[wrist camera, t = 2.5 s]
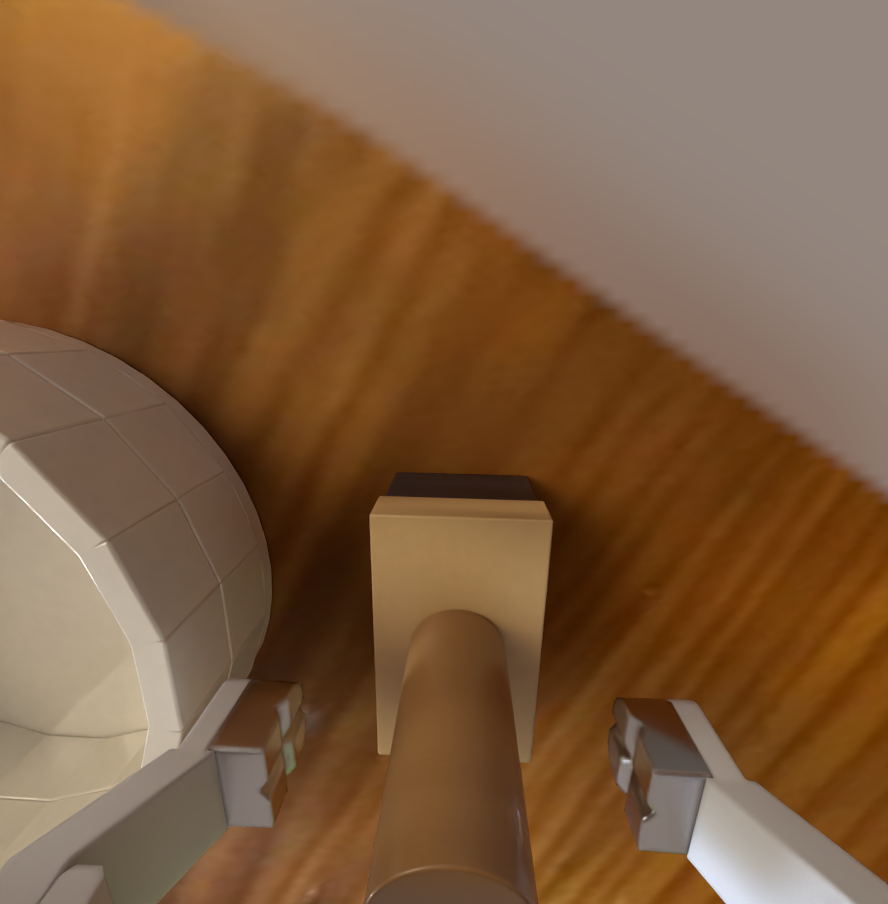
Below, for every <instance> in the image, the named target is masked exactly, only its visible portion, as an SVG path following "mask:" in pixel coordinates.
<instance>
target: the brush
mask: <svg viewBox="0 0 888 904" xmlns="http://www.w3.org/2000/svg"><path fill="white" fill-rule="evenodd" d="M369 518H370V546H371V573H372V601H373V629H374V656H375V684H376V711H377V739H378V754H382V755H390V757H389V763H388V769H387V774H386V780H385V786H384V792H383V797H382V803H381V809H380V815H379V820H378V826H377V832H376V837H375V843H374V849H373V855H372V860H371V866H370V872H369V878H368V883H367V889H366V895H365V901H364V904H538V898H537V890H536V883H535V875H534V867H533V859H532V852H531V844H530V836H529V828H528V821H527V813H526V805H525V797H524V790H523V782H522V774H521V766H520V762H527V763H529V762H531V755H532V745H533V734H534V723H535V712H536V702H537V691H538V680H539V670H540V659H541V648H542V637H543V627H544V616H545V605H546V595H547V584H548V573H549V563H550V552H551V541H552V530H553V520H552V518H551V516H550V513H549V511H548V509H547V507H546V505H545V503H544V502H543V501H537V498H536V496H535V494H534V491H533V489H532V487H531V484H530V482H529V480H528V477H527V476H508V475H473V474H438V473H403V472H398V473H396V475H395V477H394V479H393V481H392V483H391V485H390V487H389V490H388V492H387V494H386V496H379V498H378V500H377V502H376V504H375V506H374V508H373V510H372V512H371V513H370V516H369Z"/></svg>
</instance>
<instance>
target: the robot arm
mask: <svg viewBox="0 0 888 904" xmlns="http://www.w3.org/2000/svg"><path fill="white" fill-rule="evenodd" d="M303 698H304V694H303V687H302V684H301V683H299V682H288V681H275V680H262V679H242V678H229V679H228V680H227V681H225V682H224V683H223V684H222V686H221V687H220V688H219V690H218V691H217V693H216V694H215V696H214V697H213V699H212V700H211V702H210V703H209V704H208V706H207V707H206V709H205V710H204V712H203V713H202V715H201V716H200V718H199V719H198V720H197V722H196V723H195V725H194V726H193V728H192V729H191V731H190V732H189V734H188V735H187V736H186V738H185V739H184V741H183V742H182V744H181V745H180V747H179V748H178V749H169V750H168V751H166V752H165V753H163V754H162V755H160V756H159V757H157V758H156V759H154V760H153V761H152V762H150V763H149V764H147V765H146V766H144V767H143V768H141V769H140V770H138V771H137V772H135V773H134V774H132V775H131V776H129V777H128V778H127V779H125V780H124V781H122V782H121V783H119V784H118V785H116V786H115V787H113V788H112V789H110V790H109V791H107V792H106V793H104V794H103V795H102V796H100V797H99V798H97V799H96V800H94V801H93V802H91V803H90V804H88V805H87V806H85V807H84V808H82V809H81V810H79V811H78V812H77V813H75V814H74V815H72V816H71V817H69V818H68V819H66V820H65V821H63V822H62V823H60V824H59V825H57V826H56V827H54V828H53V829H52V830H50V831H49V832H47V833H46V834H44V835H43V836H41V837H40V838H38V839H37V840H35V841H34V842H32V843H31V844H30V845H28V846H27V847H25V848H24V849H22V850H21V851H19V852H18V853H16V854H15V855H13V856H12V857H11V858H10V859H9V860H8V862H7V863H6V864H5V865H4V866H3V867H2V869H1V870H0V904H157V903H158V902H159V901H160V900H161V899H162V898H163V897H164V896H165V895H166V894H167V892H168V891H169V890H170V889H171V888H172V887H173V886H174V885H175V884H176V883H177V882H178V881H179V880H180V879H181V878H182V877H183V876H184V875H185V873H186V872H187V871H188V870H189V869H190V868H191V867H192V866H193V865H194V864H195V863H196V862H197V861H198V860H199V859H200V858H201V857H202V856H203V855H204V853H205V852H206V851H207V850H208V849H209V848H210V847H211V846H212V845H213V844H214V843H215V842H216V841H217V840H218V839H219V838H220V837H221V836H222V835H223V833H224V832H225V831H226V830H227V826H245V827H273V826H274V823H275V821H276V818H277V816H278V813H279V811H280V808H281V805H282V803H283V800H284V798H285V795H286V793H287V790H288V789H287V780H286V776H287V775H288V774H289V773H290V772H291V771H292V770H293V769H294V768H296V766H297V764H298V761H299V758H300V756H301V753H302V749H303V744H304V740H305V734H306V715H305V713H304V712H303V711H302V709H301V708H300V705H301V702H302V700H303ZM612 713H613V716H614V718H615V721H616V724H615V725H614V726H613V727H612V728H611V729H609V738H608V751H609V760H610V765H611V769H612V773H613V776H614V779H615V782H616V785H617V786H618V787H619V788H620V789H621V790H622V791H623V792H624V793H625V794H626V795H627V798H626V804H625V812H626V815H627V818H628V821H629V824H630V827H631V830H632V833H633V836H634V839H635V842H636V844H637V847H638V850H644V851H655V852H665V853H676V854H686V855H688V856H687V858H688V859H689V860H690V862H691V863H692V864H693V865H694V866H695V868H696V869H697V870H698V871H699V872H700V873H701V875H702V876H703V877H704V878H705V879H706V881H707V882H708V883H709V884H710V885H711V887H712V888H713V889H714V890H715V891H716V893H717V894H718V895H719V896H720V897H721V898H722V900H723V901H724V902H725V903H726V904H888V884H887V883H886V882H884V881H883V880H882V879H880V878H879V877H878V876H877V875H875V874H874V873H873V872H871V871H870V870H869V869H868V868H866V867H865V866H864V865H862V864H861V863H860V862H859V861H857V860H856V859H855V858H853V857H852V856H851V855H850V854H848V853H847V852H846V851H844V850H843V849H842V848H841V847H839V846H838V845H837V844H835V843H834V842H833V841H831V840H830V839H829V838H828V837H826V836H825V835H824V834H822V833H821V832H820V831H819V830H817V829H816V828H815V827H813V826H812V825H811V824H810V823H808V822H807V821H806V820H804V819H803V818H802V817H801V816H799V815H798V814H797V813H795V812H794V811H793V810H792V809H790V808H789V807H788V806H786V805H785V804H784V803H783V802H781V801H780V800H779V799H777V798H776V797H775V796H773V795H772V794H771V793H770V792H768V791H767V790H766V789H764V788H763V787H762V786H761V785H759V784H758V783H757V782H755V781H750V780H746V779H745V778H744V776H743V774H742V773H741V771H740V770H739V768H738V767H737V765H736V763H735V762H734V760H733V759H732V757H731V756H730V754H729V752H728V751H727V749H726V748H725V746H724V745H723V743H722V741H721V740H720V738H719V737H718V735H717V734H716V732H715V730H714V729H713V727H712V726H711V724H710V723H709V721H708V719H707V718H706V716H705V715H704V713H703V712H702V710H701V708H700V707H699V705H698V704H697V703H696V702H694V701H693V700H677V699H667V700H665V699H650V698H623V697H617V698H616V700H615V701H614V704H613V710H612Z"/></svg>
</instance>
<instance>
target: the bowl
mask: <svg viewBox="0 0 888 904" xmlns="http://www.w3.org/2000/svg"><path fill="white" fill-rule="evenodd" d="M271 601H272V575H271V564H270V558H269V553H268V547H267V542H266V538H265V535H264V532H263V529H262V526H261V523H260V520H259V517H258V513H257V511H256V509H255V507H254V504H253V502H252V500H251V498H250V496H249V494H248V492H247V490H246V487H245V485H244V483H243V482H242V480H241V478H240V477H239V475H238V474H237V472H236V470H235V469H234V467H233V466H232V464H231V462H230V461H229V459H228V458H227V456H226V454H225V453H224V452H223V451H222V449H221V448H220V447H219V446H218V444H217V443H216V442H215V441H214V439H213V438H212V437H211V436H210V434H209V433H208V432H207V431H206V429H205V428H204V427H203V426H202V425H201V424H200V423H199V422H198V421H197V420H196V419H195V418H194V417H193V416H192V415H191V414H190V413H189V412H188V411H187V410H186V409H185V408H184V407H183V406H182V405H181V404H180V403H179V402H178V401H177V400H175V399H174V398H173V397H172V396H171V395H169V394H168V393H167V392H166V391H164V390H163V389H162V388H161V387H159V386H158V385H157V384H156V383H154V382H153V381H152V380H151V379H149V378H148V377H146V376H145V375H143V374H141V373H140V372H138V371H137V370H135V369H134V368H132V367H131V366H129V365H127V364H126V363H124V362H123V361H121V360H120V359H118V358H116V357H114V356H112V355H110V354H108V353H106V352H104V351H102V350H100V349H98V348H96V347H94V346H91V345H89V344H87V343H85V342H83V341H80V340H78V339H75V338H72V337H69V336H66V335H63V334H61V333H58V332H55V331H52V330H49V329H45V328H41V327H36V326H32V325H27V324H23V323H18V322H14V321H3V320H0V870H1V869H2V867H3V866H4V865H5V864H6V863H7V862H8V860H9V859H10V858H11V857H12V856H13V855H15V854H16V853H18V852H19V851H21V850H22V849H24V848H25V847H27V846H28V845H30V844H31V843H32V842H34V841H35V840H37V839H38V838H40V837H41V836H43V835H44V834H46V833H47V832H49V831H50V830H52V829H53V828H54V827H56V826H57V825H59V824H60V823H62V822H63V821H65V820H66V819H68V818H69V817H71V816H72V815H74V814H75V813H77V812H78V811H79V810H81V809H82V808H84V807H85V806H87V805H88V804H90V803H91V802H93V801H94V800H96V799H97V798H99V797H100V796H102V795H103V794H104V793H106V792H107V791H109V790H110V789H112V788H113V787H115V786H116V785H118V784H119V783H121V782H122V781H124V780H125V779H127V778H128V777H129V776H131V775H132V774H134V773H135V772H137V771H138V770H140V769H141V768H143V767H144V766H146V765H147V764H149V763H150V762H152V761H153V760H154V759H156V758H157V757H159V756H160V755H162V754H163V753H165V752H166V751H168V750H169V749H178V748H179V747H180V745H181V744H182V742H183V741H184V739H185V738H186V736H187V735H188V734H189V732H190V731H191V729H192V728H193V726H194V725H195V723H196V722H197V720H198V719H199V718H200V716H201V715H202V713H203V712H204V710H205V709H206V707H207V706H208V704H209V703H210V702H211V700H212V699H213V697H214V696H215V694H216V693H217V691H218V690H219V688H220V687H221V686H222V684H223V683H224V682H225V681H227V680H228V679H229V678H242V679H246V678H247V677H248V675H249V674H250V671H251V670H252V667H253V663H254V661H255V659H256V657H257V655H258V653H259V650H260V648H261V646H262V644H263V641H264V637H265V634H266V630H267V627H268V623H269V619H270V610H271Z"/></svg>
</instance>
